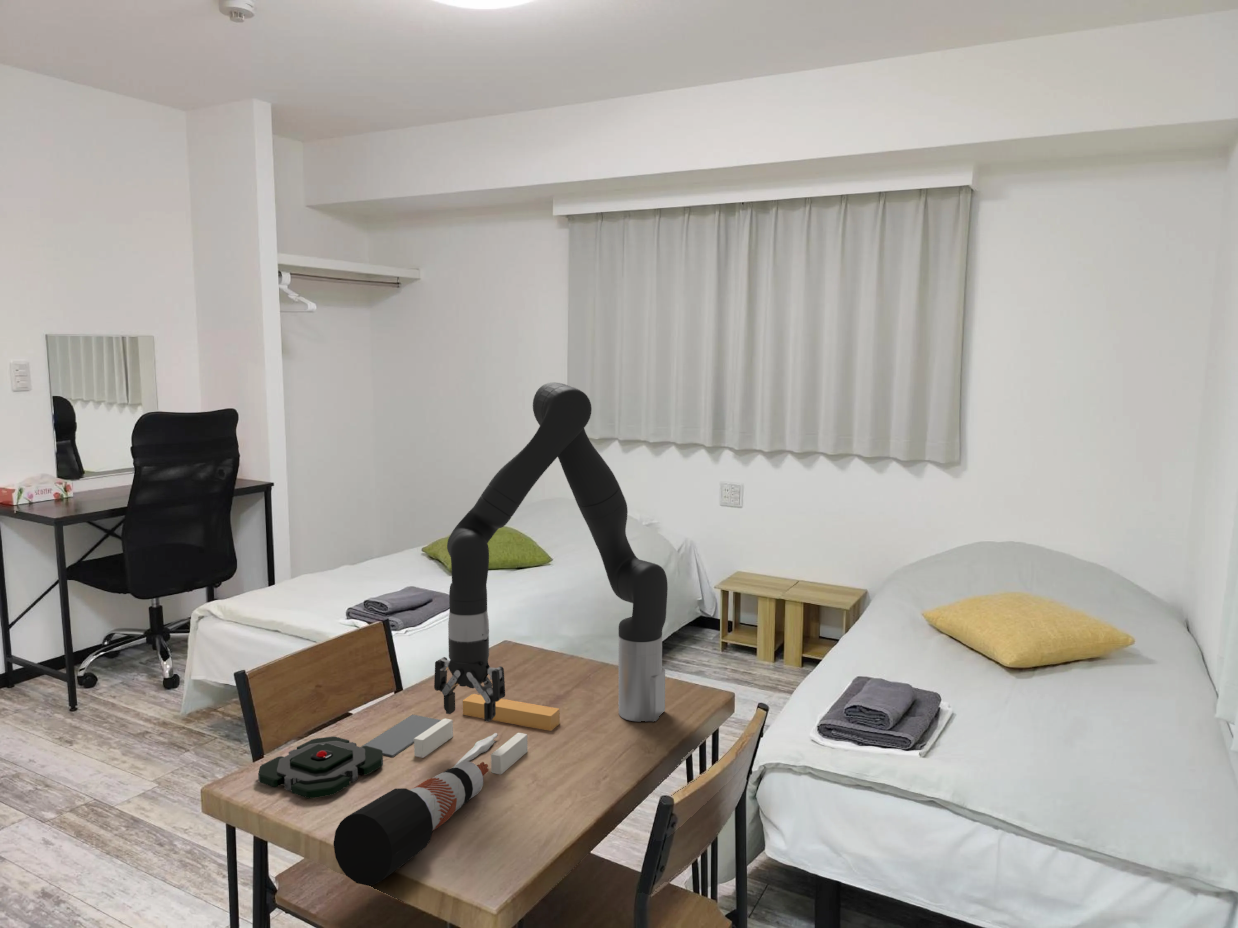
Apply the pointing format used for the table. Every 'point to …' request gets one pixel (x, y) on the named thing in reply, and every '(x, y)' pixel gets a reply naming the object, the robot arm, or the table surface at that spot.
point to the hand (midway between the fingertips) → (469, 716)
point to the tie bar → (515, 712)
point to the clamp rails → (444, 732)
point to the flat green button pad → (320, 767)
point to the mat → (401, 735)
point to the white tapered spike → (478, 748)
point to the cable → (402, 823)
